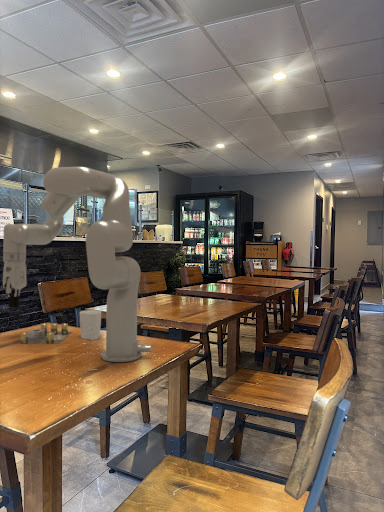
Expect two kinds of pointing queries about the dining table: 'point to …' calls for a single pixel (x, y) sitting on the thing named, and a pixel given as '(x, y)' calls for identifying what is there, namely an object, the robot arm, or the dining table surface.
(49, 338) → the jig plate
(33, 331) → the steel nut
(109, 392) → the dining table surface
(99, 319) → the white cup
